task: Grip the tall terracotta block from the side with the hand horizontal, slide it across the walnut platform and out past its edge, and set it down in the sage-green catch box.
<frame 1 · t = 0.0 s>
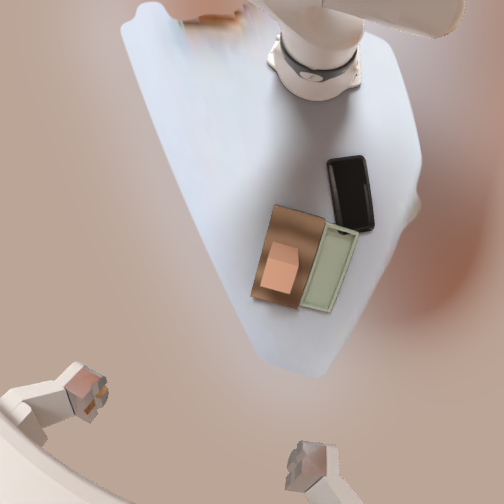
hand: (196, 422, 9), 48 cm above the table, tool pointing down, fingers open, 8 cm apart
platform: (286, 255, 57), on the table
terracotta block: (282, 256, 54), point 3 cm above the table, touching platform
phone: (351, 194, 52), on the table
catch box: (327, 267, 56), on the table
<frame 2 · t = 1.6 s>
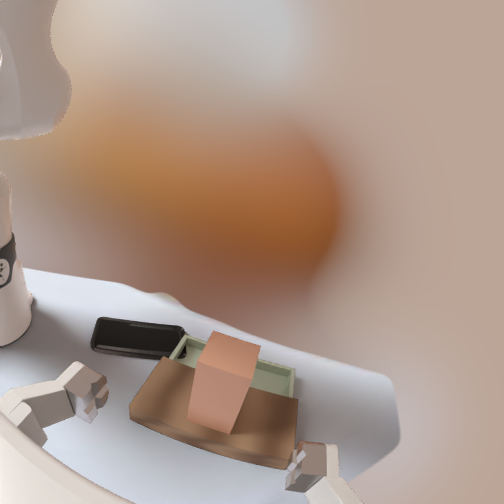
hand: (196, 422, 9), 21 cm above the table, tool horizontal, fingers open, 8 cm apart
platform: (215, 420, 30), on the table
terracotta block: (213, 412, 28), point 3 cm above the table, touching platform
phone: (138, 342, 40), on the table
catch box: (231, 376, 38), on the table
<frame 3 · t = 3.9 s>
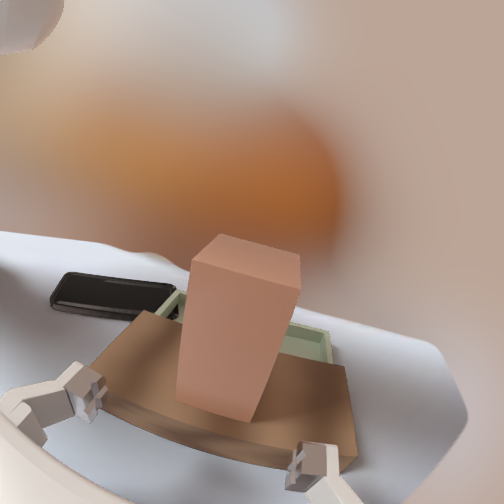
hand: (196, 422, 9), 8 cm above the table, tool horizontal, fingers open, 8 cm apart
platform: (223, 404, 20), on the table
terracotta block: (220, 387, 18), point 3 cm above the table, touching platform
phone: (115, 302, 29), on the table
catch box: (242, 343, 28), on the table
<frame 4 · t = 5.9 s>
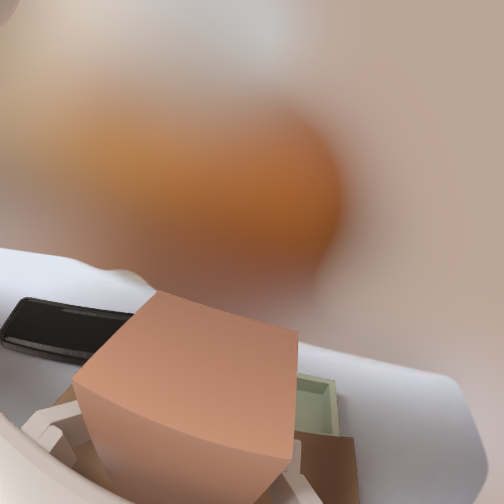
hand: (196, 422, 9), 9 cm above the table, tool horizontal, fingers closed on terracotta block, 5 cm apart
platform: (193, 488, 12), on the table
terracotta block: (183, 484, 10), point 3 cm above the table, touching gripper, platform
phone: (72, 338, 22), on the table
catch box: (223, 399, 20), on the table
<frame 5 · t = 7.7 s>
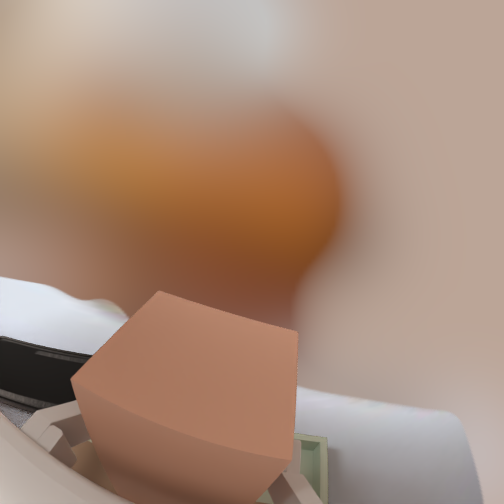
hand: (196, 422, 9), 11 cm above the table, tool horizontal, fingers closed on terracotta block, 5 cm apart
terracotta block: (183, 484, 10), point 5 cm above the table, touching gripper
phone: (46, 384, 18), on the table
catch box: (204, 460, 16), on the table
when the fingers open (8 cm above the table, at t = 9.8 s): terracotta block drops 2 cm, resting on catch box.
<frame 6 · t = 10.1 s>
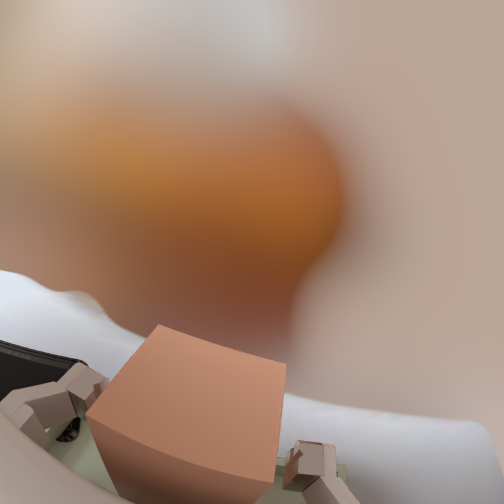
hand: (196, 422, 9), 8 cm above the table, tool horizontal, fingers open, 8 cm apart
terracotta block: (182, 492, 11), resting on catch box
phone: (3, 386, 12), on the table
catch box: (186, 495, 11), on the table
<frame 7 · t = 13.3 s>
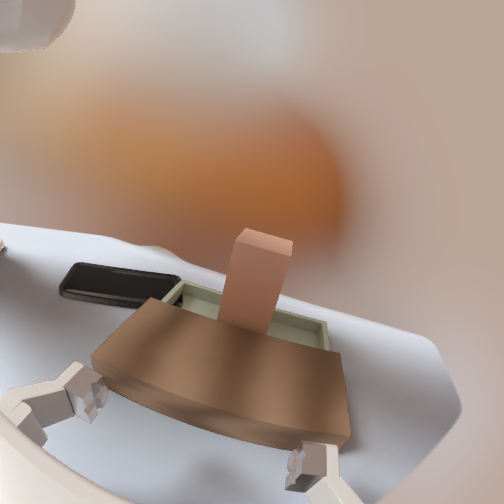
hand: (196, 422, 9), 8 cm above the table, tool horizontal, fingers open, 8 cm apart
platform: (224, 386, 21), on the table
terracotta block: (242, 327, 29), resting on catch box
phone: (122, 291, 31), on the table
catch box: (244, 331, 30), on the table
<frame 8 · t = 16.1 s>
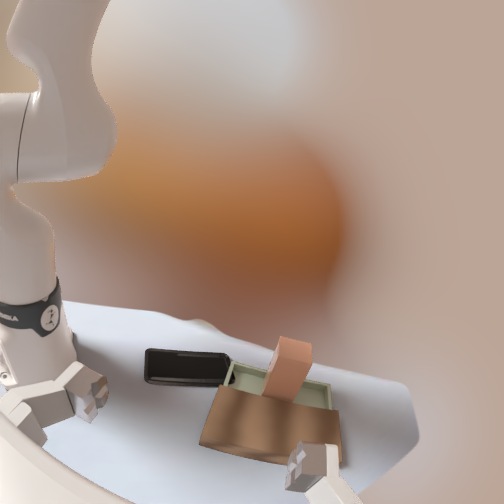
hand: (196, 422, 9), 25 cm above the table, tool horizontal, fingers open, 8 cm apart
platform: (271, 435, 34), on the table
terracotta block: (276, 393, 42), resting on catch box
phone: (188, 371, 43), on the table
catch box: (277, 395, 42), on the table
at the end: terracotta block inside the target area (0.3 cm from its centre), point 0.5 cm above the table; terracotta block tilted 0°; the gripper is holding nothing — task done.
